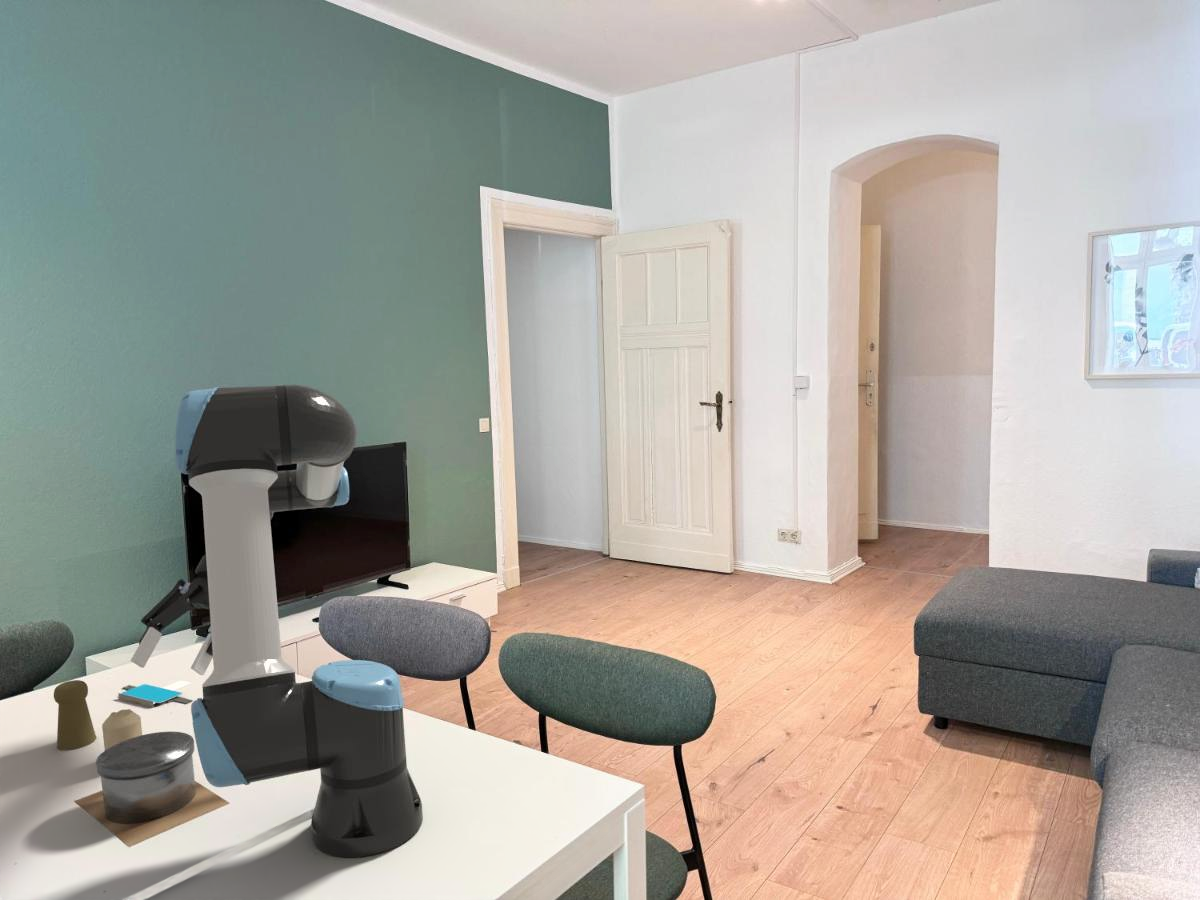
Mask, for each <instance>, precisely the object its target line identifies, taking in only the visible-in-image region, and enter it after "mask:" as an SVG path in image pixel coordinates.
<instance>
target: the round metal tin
mask: <svg viewBox="0 0 1200 900" xmlns="http://www.w3.org/2000/svg"><path fill="white" fill-rule="evenodd" d="M193 737H194V736H192V735H190V734H188V733H186V732H181V731H159V732H151V733H145V734H142V735H141V736H137V737H134V738H131V739H128V740H125V741H122V742H120V743H118V744H115V745H113V746H112V747H110V748H108V749H107V750H105V749H104V750H103V751H102V752H101V753H100V754H99V755H98V756H97V758H96V760H95V766H96V773H97V775H99V776H100V782H101V791H102V792H103V801H104V810H105V816H106V818H107V819H108V820H109V821H111V822H114V823H118V824H136V823H143V822H148V821H152V820H156V819H159V818H162V817H165V816H168V815H170V814H172V813H174V812H176V811H178V810H180V809H182V808H183V807H185V806H186V805H187V804H188V803H190V802H191V801H192V799H193V798H194V796H195V794H196V789H195V781H196V780H195V771H194V770H195V769H194V760H193V754H194V752H195V740H194V739H195V738H193Z"/></svg>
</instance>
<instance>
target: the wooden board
mask: <svg viewBox="0 0 1200 900" xmlns="http://www.w3.org/2000/svg"><path fill="white" fill-rule="evenodd" d="M195 789H196V794H195V796H194V798H193V799H192V801H191V802H190V803H188V804H187V805H186V806H185V807H183V808H182V809H180V810H178V811H176V812H174V813H172V814H170V815H168V816H165V817H162V818H159V819H156V820H152V821H148V822H143V823H136V824H118V823H114V822H111V821H109V820H108V819H107V818H106V816H105V810H104V801H103V792H102V790H99V791H97V792H94V793H91V794H90V795H86V796H84V797H81V798H78V799H75V800H74V801H73V802H75V804H77V805H78V806H79V807H80V808H81V809H83V810H84V811H85V812H86V813H88V814H89V815H90V816H91V817H92V818H93V819H95V820H96V821H97V822H98V823H100V824H101V825H102V826H103V827H105V829H107V830H108V831H109V832H111V833H112V835H114V836H116V838H118V839H119V840H120V841H121V842H123V843H124V844H125V845H126V846H127V847H128V848H131V847H133V846H135V845H137V844H140V843H142V842H145V841H146V840H148V839H151V838H153V837H156V836H158V835H160V834H163V833H165V832H168V831H170V830H172V829H174V828H176V827H178V826H181V825H183V824H186V823H188V822H190V821H192V820H195V819H197V818H200V817H202V816H204V815H206V814H209V813H210V812H213V811H216V810H218V809H220V808H223V807H224V806H227V805H229V804H230V802H229V801H227V800H226V799H225V798H223V797H221V796H220V795H218V794H216V793H215V792H213V791H212V790H210V789H209V788H207V787H206V786H204V785H202V784H201V783H199V782H197V781H196V780H195Z"/></svg>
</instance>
